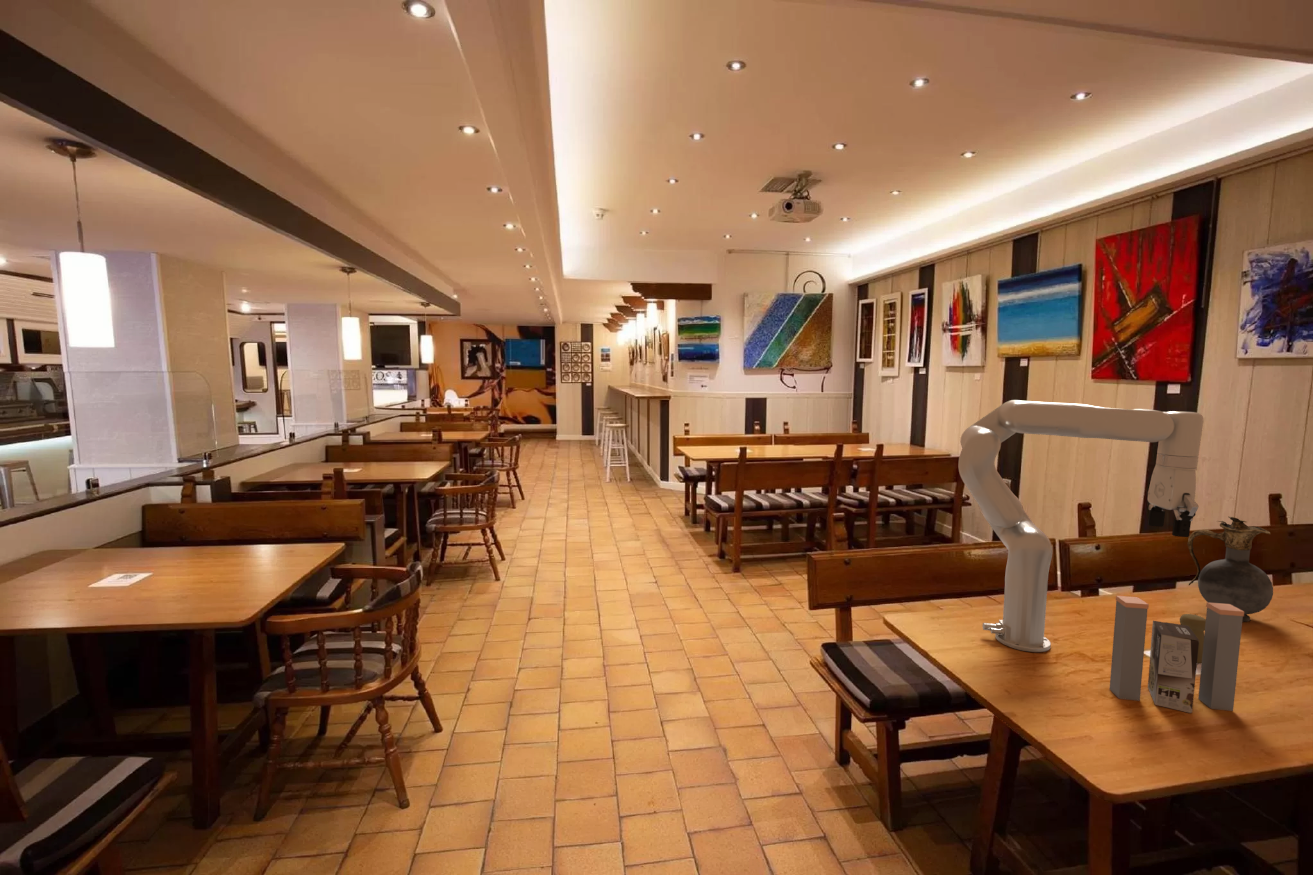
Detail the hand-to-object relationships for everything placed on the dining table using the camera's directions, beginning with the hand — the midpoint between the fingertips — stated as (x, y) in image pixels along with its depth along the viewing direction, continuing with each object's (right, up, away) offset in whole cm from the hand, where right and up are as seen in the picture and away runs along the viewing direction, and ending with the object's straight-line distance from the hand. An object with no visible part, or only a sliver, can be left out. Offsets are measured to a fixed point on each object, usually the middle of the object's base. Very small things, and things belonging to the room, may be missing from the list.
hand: (1167, 530), depth 143 cm
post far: (-4, -35, -17) cm, 39 cm away
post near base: (-21, -35, -13) cm, 42 cm away
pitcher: (+44, -30, +31) cm, 62 cm away
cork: (+10, -33, +4) cm, 35 cm away
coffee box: (-13, -35, -15) cm, 40 cm away
